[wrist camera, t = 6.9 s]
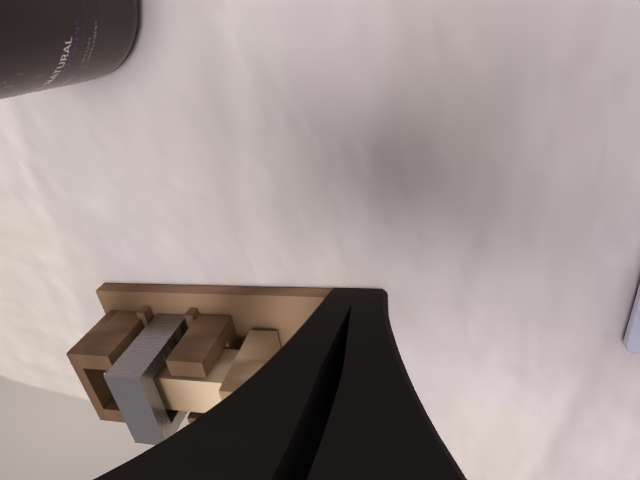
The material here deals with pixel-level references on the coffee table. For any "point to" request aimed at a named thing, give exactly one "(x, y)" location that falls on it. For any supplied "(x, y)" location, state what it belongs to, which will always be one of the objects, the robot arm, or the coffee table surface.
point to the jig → (199, 340)
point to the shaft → (217, 375)
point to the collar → (147, 380)
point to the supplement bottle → (62, 42)
